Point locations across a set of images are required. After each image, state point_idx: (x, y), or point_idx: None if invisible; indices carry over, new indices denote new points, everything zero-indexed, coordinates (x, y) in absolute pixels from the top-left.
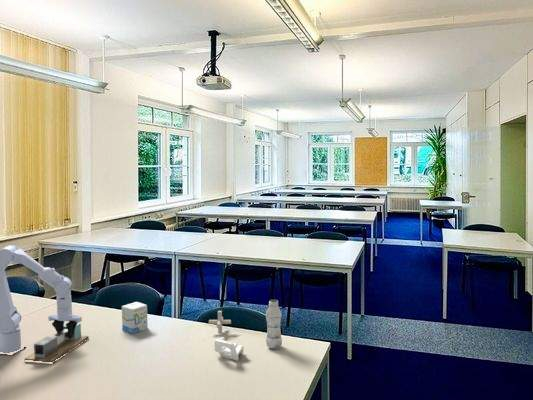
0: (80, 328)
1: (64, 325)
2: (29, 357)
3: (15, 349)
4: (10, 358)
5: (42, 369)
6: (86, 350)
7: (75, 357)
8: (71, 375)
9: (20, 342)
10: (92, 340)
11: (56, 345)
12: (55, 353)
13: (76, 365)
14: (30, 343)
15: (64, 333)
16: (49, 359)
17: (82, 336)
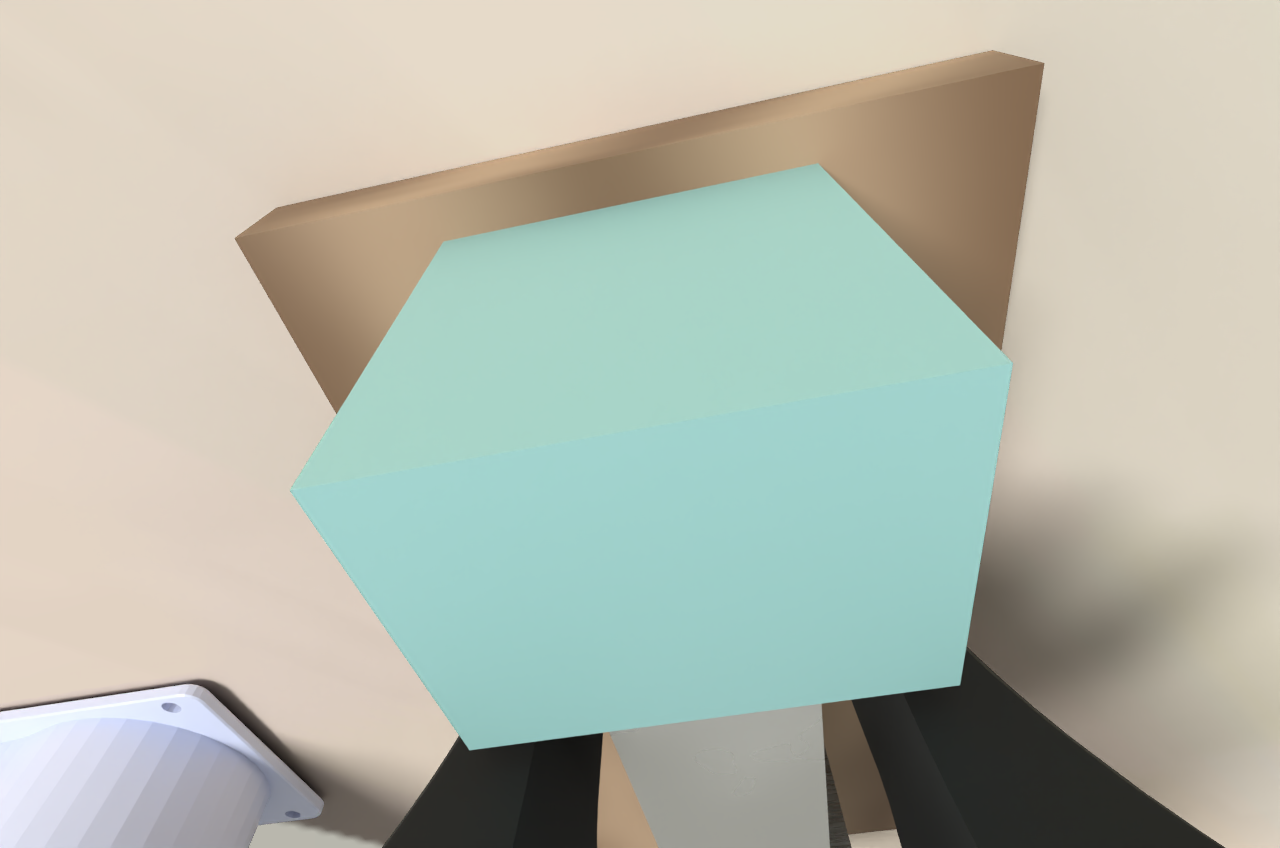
0: (907, 277)
1: (453, 700)
2: (625, 846)
3: (255, 817)
4: (376, 819)
5: (887, 830)
6: (1190, 485)
7: (1106, 649)
8: (1229, 816)
9: (176, 844)
10: (1141, 76)
11: (840, 811)
12: (848, 751)
13: (1207, 734)
14: (50, 592)
15: (823, 801)
16: (884, 819)
17: (871, 166)
